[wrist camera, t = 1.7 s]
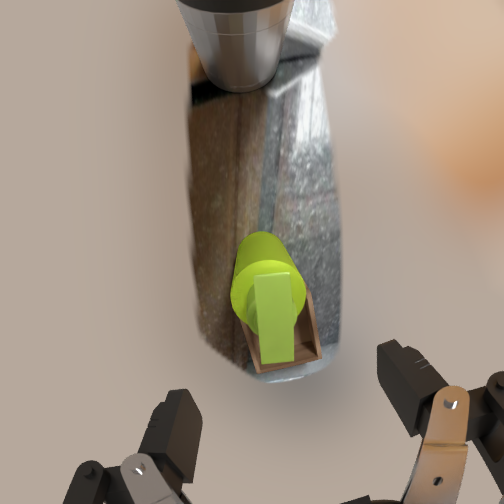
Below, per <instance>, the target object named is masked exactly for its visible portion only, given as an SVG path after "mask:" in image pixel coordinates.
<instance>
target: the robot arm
mask: <svg viewBox="0 0 504 504" xmlns="http://www.w3.org/2000/svg"><path fill="white" fill-rule="evenodd" d="M176 2H177V5H178V7H179V9H180V12H181V14H182V16H183V19H184V21H185V24H186V26H187V28H188V31H189V33H190V36H191V38H192V41H193V43H194V46H195V48H196V51H197V53H198V56H199V58H200V61H201V64H202V66H203V69H204V71H205V73H206V75H207V77H208V79H209V80H210V81H211V82H212V83H213V84H214V85H216V86H217V87H219V88H221V89H223V90H226V91H230V92H239V93H243V92H250V91H253V90H256V89H259V88H261V87H262V86H264V85H265V84H267V83H268V82H269V81H270V80H271V79H272V78H273V76H274V75H275V72H276V70H277V66H278V62H279V58H280V55H281V51H282V47H283V43H284V39H285V35H286V32H287V28H288V24H289V20H290V16H291V12H292V9H293V5H294V0H176ZM377 375H378V380H379V383H380V385H381V387H382V388H383V390H384V391H385V393H386V395H387V397H388V399H389V400H390V402H391V404H392V405H393V407H394V409H395V410H396V412H397V414H398V416H399V417H400V419H401V421H402V422H403V424H404V426H405V428H406V429H407V431H408V433H409V435H410V437H413V436H415V435H418V434H420V435H421V437H422V438H423V439H422V442H421V446H420V449H419V452H418V455H417V458H416V461H415V464H414V468H413V470H412V473H411V476H410V479H409V481H408V484H407V486H406V488H405V491H404V493H403V495H402V498H401V500H400V501H395V500H372V501H371V500H370V497H369V495H367V496H364V497H361V498H358V499H355V500H351V501H348V502H344V503H341V504H456V501H457V498H458V494H459V490H460V486H461V482H462V478H463V474H464V469H465V464H466V459H467V453H468V445H465V442H467V441H470V440H472V441H473V443H474V445H475V446H476V448H477V450H478V451H479V453H480V455H481V456H482V458H483V460H484V461H485V463H486V465H487V467H488V469H489V471H490V472H491V474H492V476H493V478H494V480H495V482H496V484H497V485H498V487H499V489H500V491H501V493H502V495H503V496H502V498H501V500H500V502H499V504H504V371H500V372H497V373H494V374H493V375H491V377H490V378H489V380H488V382H487V385H486V386H484V387H480V388H477V389H473V390H469V391H466V390H465V389H464V388H462V387H459V386H449V385H448V383H447V382H446V381H445V380H444V379H443V378H442V377H441V375H440V374H439V373H438V372H437V371H436V370H435V369H434V368H433V366H432V365H430V363H429V362H428V361H427V360H426V359H425V358H424V357H423V355H422V354H421V353H420V352H419V351H418V350H416V349H414V348H411V347H409V346H407V347H404V348H402V346H401V345H400V344H399V343H398V342H397V341H396V340H395V339H393V340H390V341H388V342H385V343H382V344H380V345H378V346H377ZM201 430H202V416H201V413H200V411H199V409H198V407H197V405H196V403H195V402H194V400H193V398H192V396H191V394H190V392H189V391H188V390H187V389H179V390H170V391H169V392H168V394H167V397H166V400H165V402H160V404H159V405H158V406H157V407H156V408H155V409H154V410H153V413H152V416H151V418H150V421H149V424H148V428H147V429H146V431H145V434H144V437H143V440H142V442H141V445H140V448H139V450H138V453H137V454H133V455H130V456H129V457H127V458H126V459H125V460H124V461H123V463H122V464H121V466H115V467H109V468H104V467H103V466H102V465H101V464H100V463H99V462H97V461H93V460H91V461H86V462H84V463H82V464H81V465H80V466H79V467H78V468H77V470H76V472H75V475H74V477H73V480H72V482H71V484H70V487H69V489H68V491H67V494H66V496H65V499H64V502H63V504H103V502H104V503H106V504H192V502H191V501H190V500H189V499H188V497H187V496H186V494H185V493H184V492H183V491H182V490H181V489H182V484H183V483H193V477H194V471H195V465H196V459H197V454H198V448H199V441H200V436H201Z"/></svg>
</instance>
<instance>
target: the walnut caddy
mask: <svg viewBox="0 0 504 504" xmlns="http://www.w3.org/2000/svg"><path fill="white" fill-rule="evenodd" d="M303 281H304V280H303ZM304 283H305V281H304ZM305 287H306V300H305V304H304V306H303V308H302V310H301V312H300V313H299V315H298V316H297V321H296V323H295V325H294V361H289V362H281V363H271V364H261V354H260V344H259V336H258V335H257V334H255V333H254V332H253V331H252V330H251V329H250V327H249V325H248V324H246V323H245V322H243V321H242V320H241V319H240V322H241V325H242V328H243V331H244V334H245V338H246V341H247V344H248V347H249V350H250V353H251V356H252V359H253V363H254V366H255V369H256V372H257V374H260V373H264V372H269V371H274V370H278V369H283V368H287V367H291V366H295V365H299V364H303V363H307V362H311V361H315V360H318V359H322V354H321V348H320V342H319V336H318V330H317V324H316V318H315V313H314V307H313V302H312V296H311V292H310V290H309V289H308V287H307V285H306V283H305Z"/></svg>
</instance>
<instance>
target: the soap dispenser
mask: <svg viewBox="0 0 504 504" xmlns="http://www.w3.org/2000/svg"><path fill="white" fill-rule="evenodd" d="M230 297H231V304H232V307H233V309H234V311H235V313H236V314H237V316H238V317H239V318H240V319H241V320H242V321H243V322H245V323H246V324H248V325H249V327H250V329H251V330H252V331H253V332H254V333H255V334H257V335H258V336H259V344H260V354H261V364H271V363H281V362H289V361H294V325H295V323H296V321H297V316H298V315H299V313H300V312H301V310H302V308H303V306H304V304H305V300H306V287H305V283H304V281H303V279H302V277H301V275H300V273H299V271H298V270H297V268H296V266H295V264H294V263H293V261H292V259H291V257H290V256H289V254H288V252H287V250H286V249H285V247H284V245H283V244H282V242H281V241H280V239H279V238H278V237H276V236H275V235H273V234H271V233H268V232H255V233H252V234H250V235H248V236H247V237H245V238H244V239H243V241H242V242H241V243H240V245H239V248H238V252H237V258H236V263H235V269H234V275H233V281H232V287H231V294H230Z"/></svg>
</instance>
